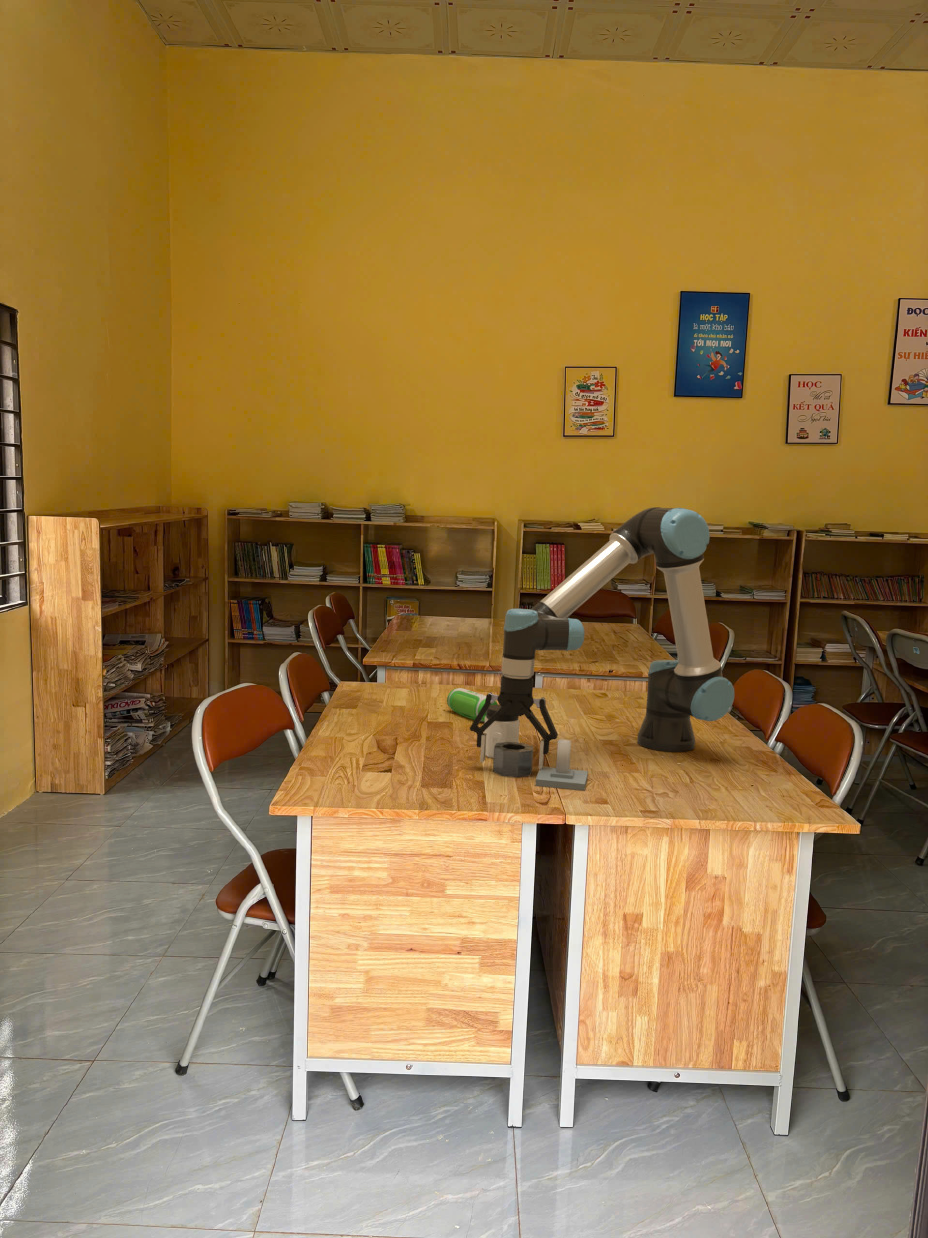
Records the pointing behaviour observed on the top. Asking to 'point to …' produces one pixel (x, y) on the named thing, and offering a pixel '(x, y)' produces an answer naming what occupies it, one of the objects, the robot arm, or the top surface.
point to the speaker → (467, 703)
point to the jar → (500, 729)
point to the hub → (513, 759)
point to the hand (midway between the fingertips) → (511, 764)
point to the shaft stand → (562, 771)
